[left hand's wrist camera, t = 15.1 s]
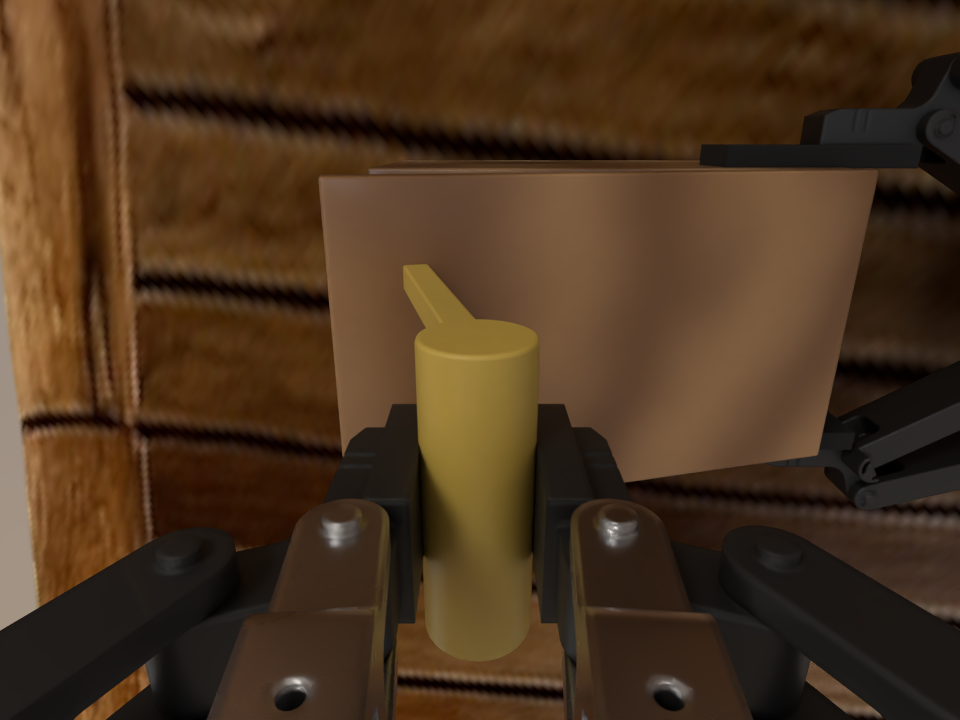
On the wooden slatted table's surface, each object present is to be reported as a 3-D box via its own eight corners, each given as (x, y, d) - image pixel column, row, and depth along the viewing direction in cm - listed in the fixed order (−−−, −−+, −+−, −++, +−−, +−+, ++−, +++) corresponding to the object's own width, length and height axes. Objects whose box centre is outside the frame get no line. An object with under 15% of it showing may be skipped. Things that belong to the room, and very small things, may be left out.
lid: (347, 504, 19) (366, 777, 11) (318, 174, 16) (314, 208, 7) (798, 444, 23) (1066, 612, 15) (854, 168, 20) (1243, 187, 11)
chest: (411, 360, 32) (384, 440, 23) (403, 160, 28) (367, 167, 20) (716, 362, 32) (801, 443, 23) (745, 160, 28) (857, 167, 20)
